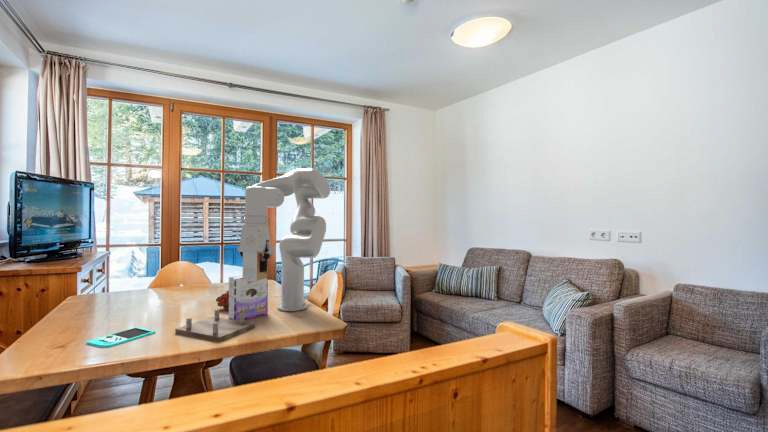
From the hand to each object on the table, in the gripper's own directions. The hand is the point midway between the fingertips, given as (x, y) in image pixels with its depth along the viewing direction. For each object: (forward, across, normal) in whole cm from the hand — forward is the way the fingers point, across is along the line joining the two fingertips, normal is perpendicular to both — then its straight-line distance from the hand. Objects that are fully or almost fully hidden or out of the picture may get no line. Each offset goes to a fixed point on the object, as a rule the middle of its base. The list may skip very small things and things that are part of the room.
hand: (255, 270), depth 132 cm
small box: (+3, 0, 0) cm, 3 cm away
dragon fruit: (+21, -27, +17) cm, 38 cm away
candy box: (+21, -12, +11) cm, 27 cm away
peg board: (+21, -11, -7) cm, 24 cm away
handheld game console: (+22, -33, -24) cm, 46 cm away
